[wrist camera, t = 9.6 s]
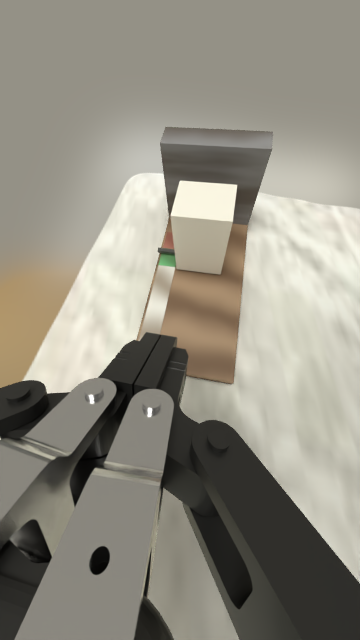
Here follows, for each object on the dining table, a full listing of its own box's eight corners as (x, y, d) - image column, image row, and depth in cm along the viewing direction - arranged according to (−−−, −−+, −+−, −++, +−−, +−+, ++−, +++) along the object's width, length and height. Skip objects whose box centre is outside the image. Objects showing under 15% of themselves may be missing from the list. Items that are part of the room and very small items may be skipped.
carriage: (220, 274, 27) (232, 221, 19) (154, 266, 29) (139, 212, 20) (226, 234, 30) (238, 171, 22) (165, 227, 31) (155, 166, 23)
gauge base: (230, 384, 24) (262, 372, 13) (133, 365, 26) (91, 341, 15) (247, 209, 34) (273, 121, 23) (176, 202, 35) (169, 116, 24)
